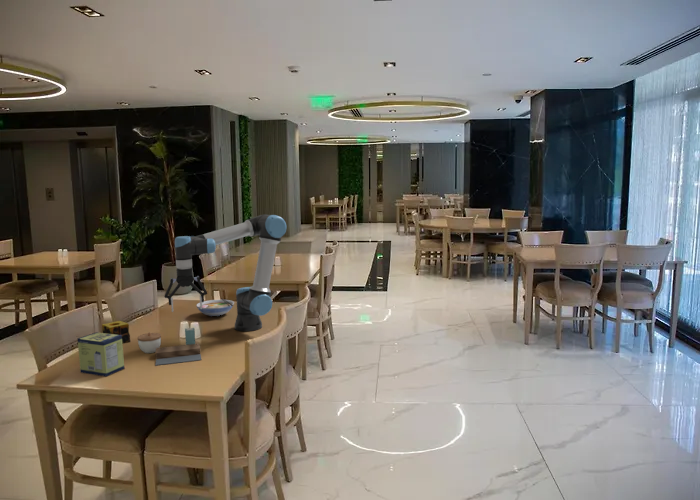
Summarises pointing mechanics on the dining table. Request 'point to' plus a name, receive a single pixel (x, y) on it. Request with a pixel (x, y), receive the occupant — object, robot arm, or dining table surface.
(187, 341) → the block
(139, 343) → the lidded jar
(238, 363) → the dining table surface
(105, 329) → the black yellow box
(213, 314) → the ramen bowl
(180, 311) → the dining table surface
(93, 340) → the protein box
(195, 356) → the mat
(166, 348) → the ledge
